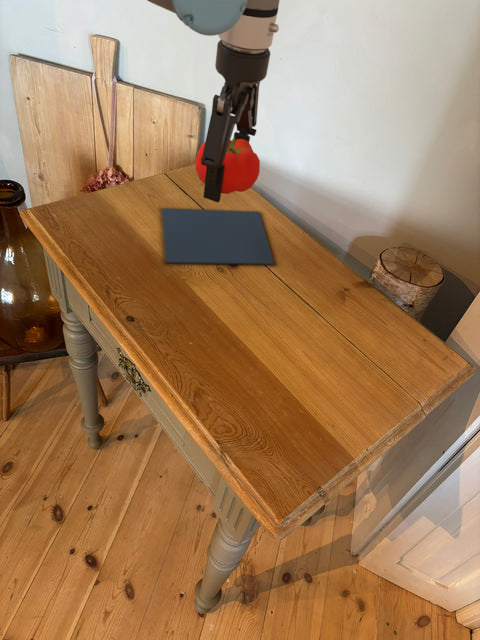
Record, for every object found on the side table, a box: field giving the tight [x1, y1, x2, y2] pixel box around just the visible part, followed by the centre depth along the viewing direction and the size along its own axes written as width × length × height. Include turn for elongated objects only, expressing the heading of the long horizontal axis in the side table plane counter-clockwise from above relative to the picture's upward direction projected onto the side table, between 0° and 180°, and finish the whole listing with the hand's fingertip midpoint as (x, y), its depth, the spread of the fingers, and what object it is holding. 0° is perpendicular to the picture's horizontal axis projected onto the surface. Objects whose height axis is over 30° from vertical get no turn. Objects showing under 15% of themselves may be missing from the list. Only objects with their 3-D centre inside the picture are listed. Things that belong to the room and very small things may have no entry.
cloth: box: [161, 207, 275, 266], centre depth 89 cm, size 20×16×1 cm
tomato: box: [194, 136, 261, 195], centre depth 78 cm, size 11×11×8 cm
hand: (224, 183), depth 80 cm, fingers closed on tomato, 11 cm apart
